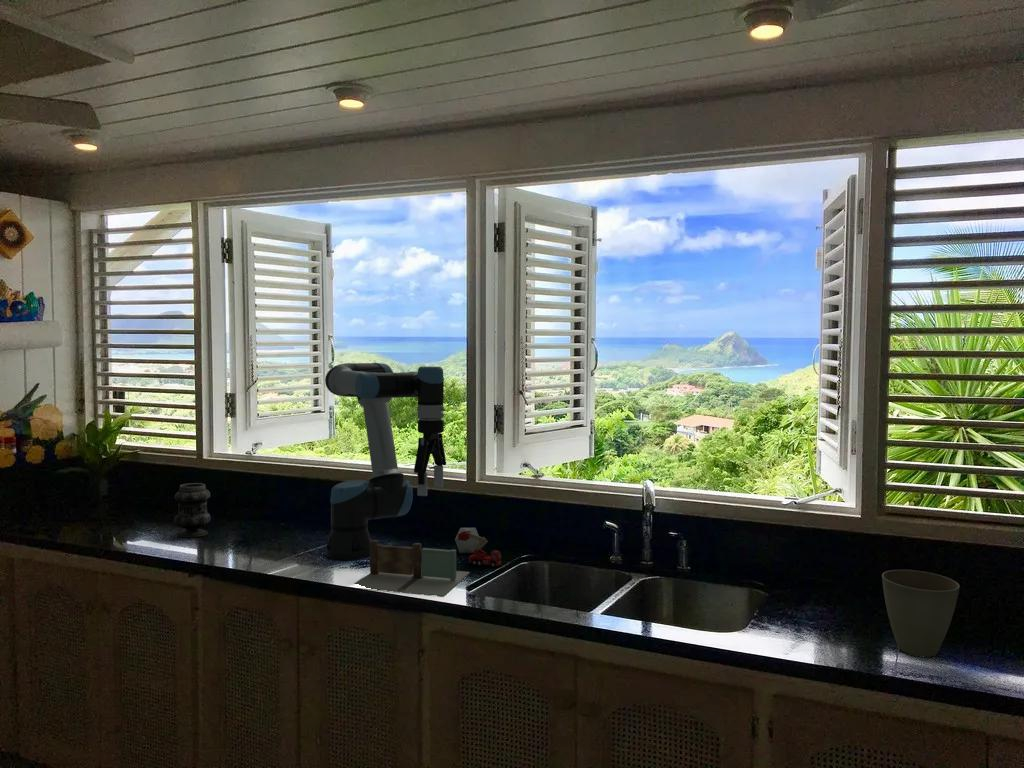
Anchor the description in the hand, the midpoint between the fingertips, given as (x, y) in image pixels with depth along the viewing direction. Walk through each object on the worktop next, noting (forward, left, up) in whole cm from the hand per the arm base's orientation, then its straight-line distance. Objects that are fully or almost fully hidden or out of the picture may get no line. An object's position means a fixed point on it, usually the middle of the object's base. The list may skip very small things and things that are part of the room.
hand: (430, 491), depth 215 cm
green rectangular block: (+4, -5, -24) cm, 25 cm away
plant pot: (+124, -24, -25) cm, 128 cm away
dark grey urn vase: (-99, +21, -25) cm, 105 cm away
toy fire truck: (+11, +14, -25) cm, 31 cm away
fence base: (-9, -5, -25) cm, 27 cm away
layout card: (-3, -7, -25) cm, 26 cm away
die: (+3, +26, -25) cm, 36 cm away
